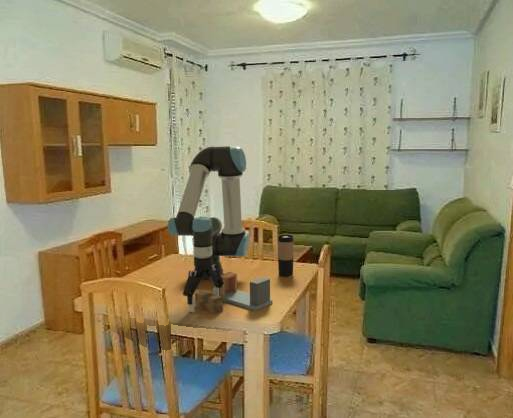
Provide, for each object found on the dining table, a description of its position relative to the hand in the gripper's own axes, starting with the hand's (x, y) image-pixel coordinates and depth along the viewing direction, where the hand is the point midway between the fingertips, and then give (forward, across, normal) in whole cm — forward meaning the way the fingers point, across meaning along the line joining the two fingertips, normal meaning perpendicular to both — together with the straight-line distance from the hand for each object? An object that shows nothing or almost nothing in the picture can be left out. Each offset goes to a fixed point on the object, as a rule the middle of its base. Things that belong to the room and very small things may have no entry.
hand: (204, 307), depth 182 cm
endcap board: (0, +16, -6) cm, 17 cm away
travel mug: (0, +57, +2) cm, 57 cm away
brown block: (0, 0, -2) cm, 2 cm away
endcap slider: (-2, +16, +3) cm, 16 cm away
